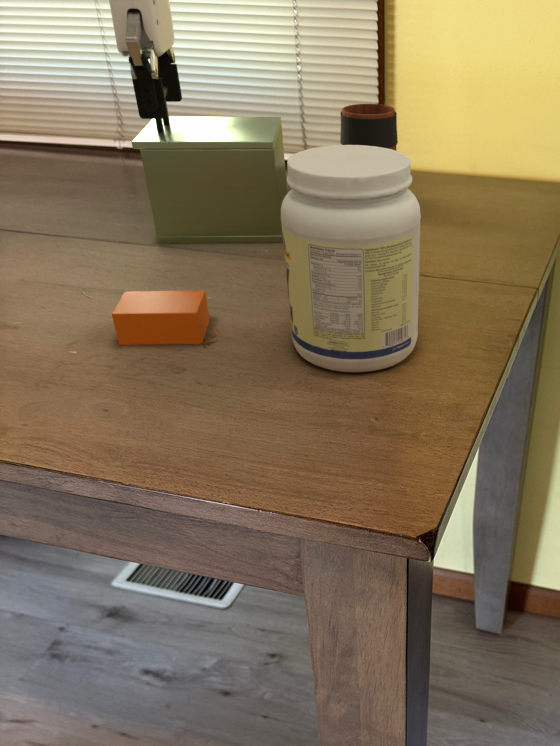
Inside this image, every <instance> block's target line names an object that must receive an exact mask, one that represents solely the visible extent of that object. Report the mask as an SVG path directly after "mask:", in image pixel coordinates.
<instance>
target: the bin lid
mask: <svg viewBox="0 0 560 746" xmlns="http://www.w3.org/2000/svg"><path fill="white" fill-rule="evenodd" d="M162 84H163V90H164V95H165V101H166V96H167V94H168V87H167V85H166V84H165V83H163V82H162ZM166 107H167V112H168V116H167V118H165V119H150V121H149V122H148V123H147V124H146V125H145V127H143V129H142V130H141V131H140V132H139V133H138V134H137V135H136V136H135V137H134V138H133V140H132V141H131V147H132V149H133V150H140V149H273V148H274V145H275V142H276V139H277V135H278V132H279V129H280V126H281V125H282V117H281V116H170V115H169V108H168V102H166Z"/></svg>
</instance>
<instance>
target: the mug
mask: <svg viewBox="0 0 560 746" xmlns="http://www.w3.org/2000/svg"><path fill="white" fill-rule="evenodd" d="M397 117H398V116H397V112H396V109H395V108H394V107H393V106H390V105H385V104H379V103H357V104H350V105H349V104H348V105H346V106H343V107H342V108H341V111H340V140H339V141H340V143H339V144H340V145H365V146H376V147H382V148H387V149H392V150H395V151H397V145H398V143H399V142H398V126H397V125H398V124H397V123H398V121H397Z"/></svg>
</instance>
